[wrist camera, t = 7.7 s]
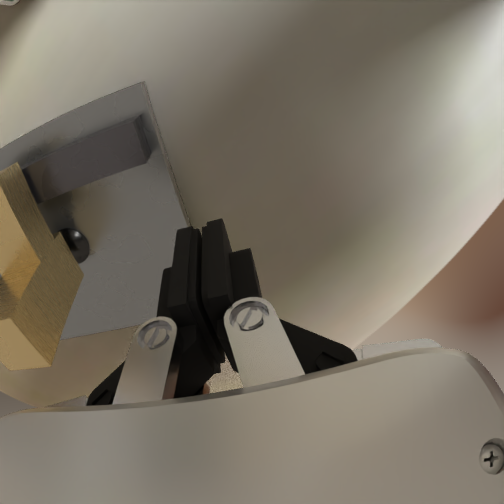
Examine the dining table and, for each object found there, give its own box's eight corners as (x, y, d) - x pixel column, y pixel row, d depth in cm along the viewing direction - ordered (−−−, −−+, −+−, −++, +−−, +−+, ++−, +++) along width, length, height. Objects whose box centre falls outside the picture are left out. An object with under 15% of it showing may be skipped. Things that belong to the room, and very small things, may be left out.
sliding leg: (30, 152, 13) (-52, 220, 7) (86, 268, 17) (51, 366, 11) (-7, 173, 13) (-85, 243, 7) (49, 279, 17) (9, 370, 11)
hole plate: (144, 81, 13) (83, 107, 6) (217, 297, 21) (228, 410, 14) (-89, 215, 13) (-149, 282, 6) (-6, 342, 21) (-35, 418, 14)
